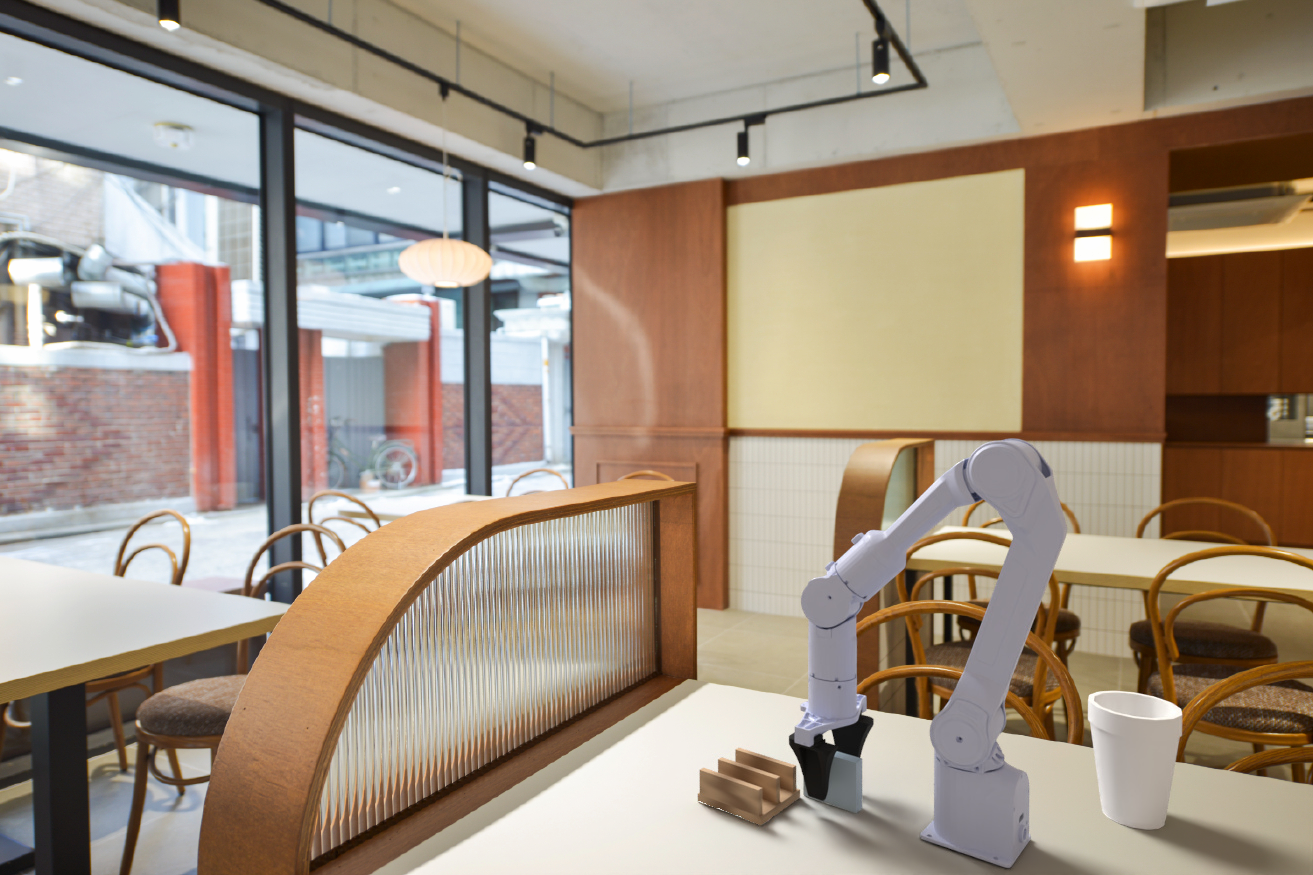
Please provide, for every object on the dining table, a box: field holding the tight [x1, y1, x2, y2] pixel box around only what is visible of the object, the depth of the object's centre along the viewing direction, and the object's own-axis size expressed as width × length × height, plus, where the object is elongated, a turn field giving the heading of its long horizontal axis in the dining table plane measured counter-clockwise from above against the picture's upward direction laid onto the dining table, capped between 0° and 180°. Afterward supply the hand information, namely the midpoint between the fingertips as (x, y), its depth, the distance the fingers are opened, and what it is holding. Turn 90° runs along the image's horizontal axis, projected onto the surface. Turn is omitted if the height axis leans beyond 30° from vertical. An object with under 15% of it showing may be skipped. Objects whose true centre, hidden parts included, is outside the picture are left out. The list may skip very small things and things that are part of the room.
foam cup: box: [1087, 690, 1183, 831], centre depth 93 cm, size 10×9×13 cm
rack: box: [697, 747, 801, 826], centre depth 97 cm, size 9×9×4 cm
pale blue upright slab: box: [802, 751, 863, 814], centre depth 97 cm, size 7×2×6 cm, turn 50°
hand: (832, 785), depth 97 cm, fingers open, 7 cm apart
